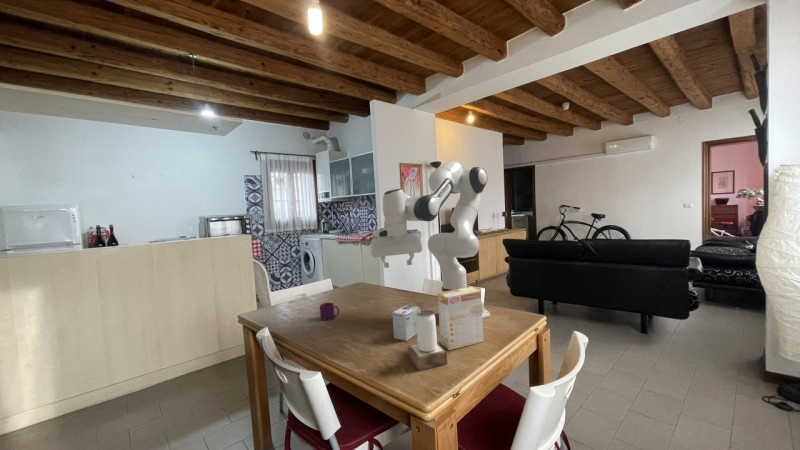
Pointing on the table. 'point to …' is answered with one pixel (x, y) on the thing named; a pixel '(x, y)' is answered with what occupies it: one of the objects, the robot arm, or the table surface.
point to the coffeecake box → (460, 317)
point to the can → (426, 331)
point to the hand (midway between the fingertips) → (398, 266)
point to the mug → (327, 311)
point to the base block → (427, 357)
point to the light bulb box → (405, 322)
